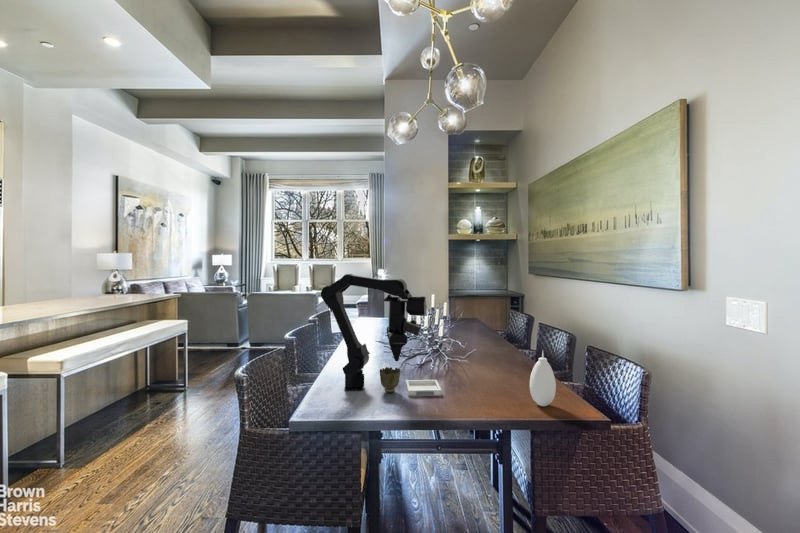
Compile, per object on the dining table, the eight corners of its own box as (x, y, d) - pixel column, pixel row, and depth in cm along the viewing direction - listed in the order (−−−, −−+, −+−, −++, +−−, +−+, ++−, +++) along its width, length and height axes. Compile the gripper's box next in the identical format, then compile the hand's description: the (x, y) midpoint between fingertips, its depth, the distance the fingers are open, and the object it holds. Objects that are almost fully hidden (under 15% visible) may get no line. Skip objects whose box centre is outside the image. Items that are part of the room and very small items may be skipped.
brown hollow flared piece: (375, 393, 134) (375, 371, 134) (384, 387, 141) (384, 365, 140) (395, 396, 131) (395, 373, 131) (403, 390, 138) (403, 368, 138)
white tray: (408, 396, 131) (408, 390, 131) (405, 385, 143) (405, 380, 143) (441, 396, 132) (441, 390, 132) (436, 384, 144) (436, 379, 144)
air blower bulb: (525, 401, 127) (526, 347, 127) (548, 400, 128) (549, 347, 128) (535, 410, 120) (536, 353, 119) (559, 409, 120) (560, 352, 120)
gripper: (423, 318, 128) (421, 365, 128) (416, 311, 146) (414, 351, 147) (389, 318, 127) (388, 365, 127) (387, 310, 145) (385, 351, 146)
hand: (395, 357), depth 137 cm, fingers open, 9 cm apart
